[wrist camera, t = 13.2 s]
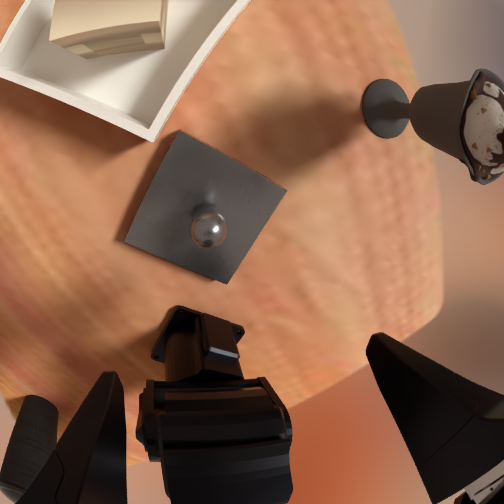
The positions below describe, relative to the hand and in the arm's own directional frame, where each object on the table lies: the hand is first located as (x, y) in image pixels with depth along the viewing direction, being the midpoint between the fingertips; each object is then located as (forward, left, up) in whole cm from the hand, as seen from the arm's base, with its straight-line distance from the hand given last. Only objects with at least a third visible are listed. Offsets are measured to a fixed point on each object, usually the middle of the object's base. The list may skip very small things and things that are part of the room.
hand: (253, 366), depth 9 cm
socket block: (+10, +12, -12) cm, 20 cm away
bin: (+10, +12, -13) cm, 20 cm away
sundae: (+15, -7, -13) cm, 21 cm away
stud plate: (+1, +1, -13) cm, 13 cm away
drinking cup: (-30, +9, -13) cm, 34 cm away
